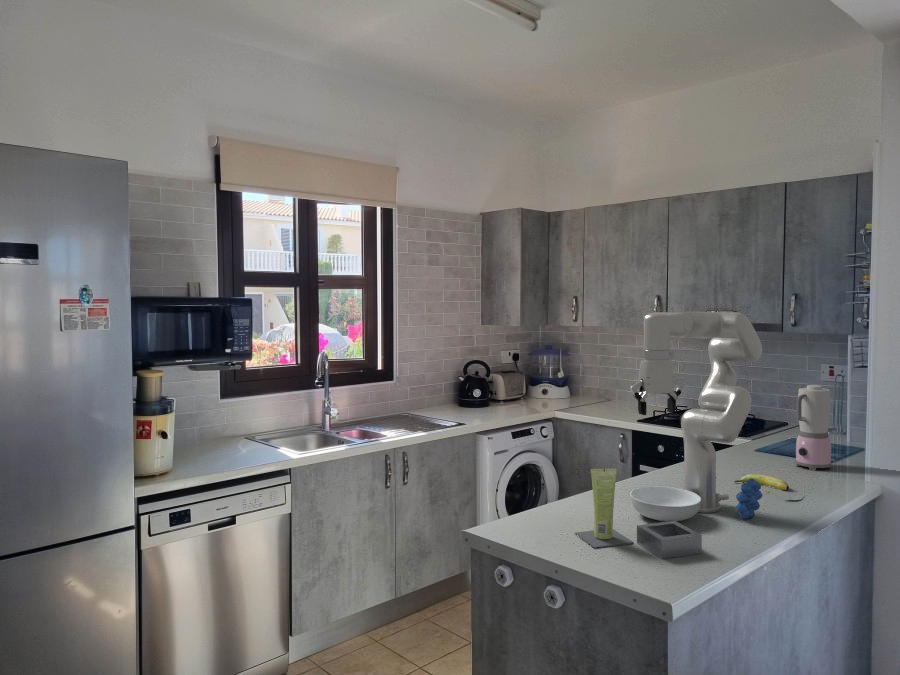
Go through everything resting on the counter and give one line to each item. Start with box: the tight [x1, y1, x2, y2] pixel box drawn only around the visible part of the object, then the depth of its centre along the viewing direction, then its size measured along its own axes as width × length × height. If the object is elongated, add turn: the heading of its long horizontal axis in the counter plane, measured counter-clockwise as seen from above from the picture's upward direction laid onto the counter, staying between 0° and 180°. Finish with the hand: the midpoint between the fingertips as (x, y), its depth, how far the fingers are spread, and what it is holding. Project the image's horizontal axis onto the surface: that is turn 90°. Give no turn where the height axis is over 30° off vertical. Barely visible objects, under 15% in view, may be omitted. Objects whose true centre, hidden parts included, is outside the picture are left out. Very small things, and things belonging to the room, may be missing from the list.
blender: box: [795, 384, 832, 471], centre depth 263 cm, size 16×12×32 cm
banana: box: [733, 473, 806, 501], centre depth 240 cm, size 35×27×4 cm
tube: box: [590, 467, 618, 540], centre depth 190 cm, size 6×5×20 cm
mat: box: [574, 528, 634, 549], centre depth 190 cm, size 12×12×1 cm
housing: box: [636, 521, 703, 560], centre depth 182 cm, size 12×12×5 cm
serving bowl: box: [629, 485, 701, 522], centre depth 208 cm, size 21×21×7 cm
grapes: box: [735, 478, 763, 520], centre depth 206 cm, size 12×7×12 cm, turn 125°
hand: (657, 413), depth 200 cm, fingers open, 9 cm apart
